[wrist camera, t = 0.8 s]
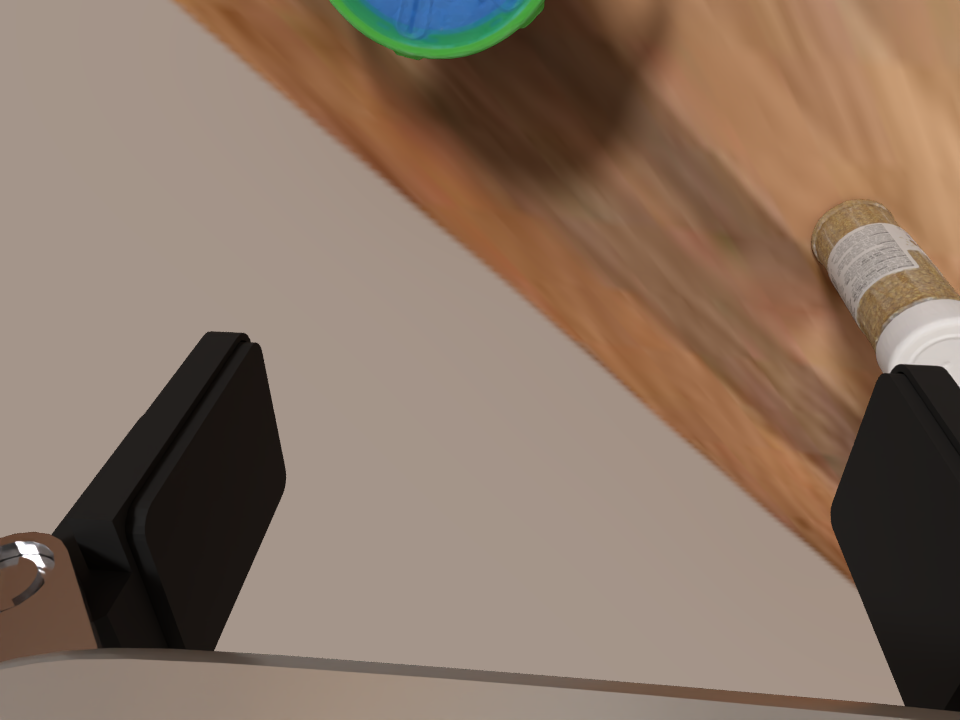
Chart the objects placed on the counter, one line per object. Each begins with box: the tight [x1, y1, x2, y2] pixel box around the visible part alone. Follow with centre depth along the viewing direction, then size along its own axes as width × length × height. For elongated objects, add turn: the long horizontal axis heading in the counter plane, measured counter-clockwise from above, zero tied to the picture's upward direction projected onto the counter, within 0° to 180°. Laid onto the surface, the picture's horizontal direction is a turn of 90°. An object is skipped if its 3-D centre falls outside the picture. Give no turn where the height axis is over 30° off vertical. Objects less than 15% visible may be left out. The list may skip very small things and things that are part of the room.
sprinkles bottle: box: [811, 199, 960, 387], centre depth 37 cm, size 5×5×14 cm
